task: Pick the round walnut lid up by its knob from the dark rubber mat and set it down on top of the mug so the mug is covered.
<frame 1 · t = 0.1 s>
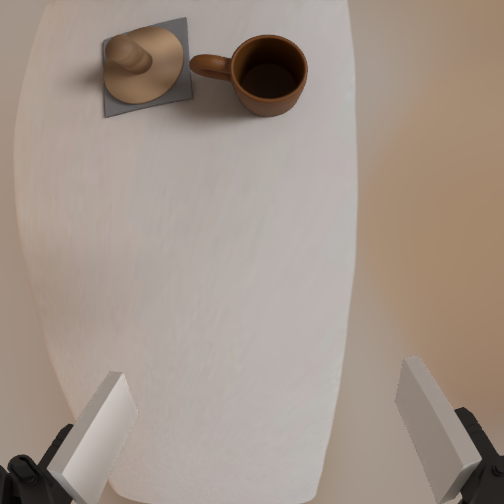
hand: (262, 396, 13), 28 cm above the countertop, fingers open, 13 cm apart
mug: (250, 86, 35), on the countertop
mat: (145, 66, 34), on the countertop
lid: (143, 65, 34), point 1 cm above the countertop, touching mat
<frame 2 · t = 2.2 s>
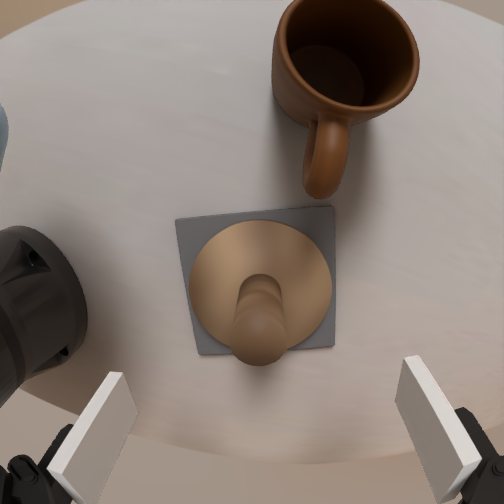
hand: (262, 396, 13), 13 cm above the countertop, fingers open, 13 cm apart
mug: (316, 111, 22), on the countertop
mat: (260, 285, 26), on the countertop
lid: (260, 288, 25), point 1 cm above the countertop, touching mat
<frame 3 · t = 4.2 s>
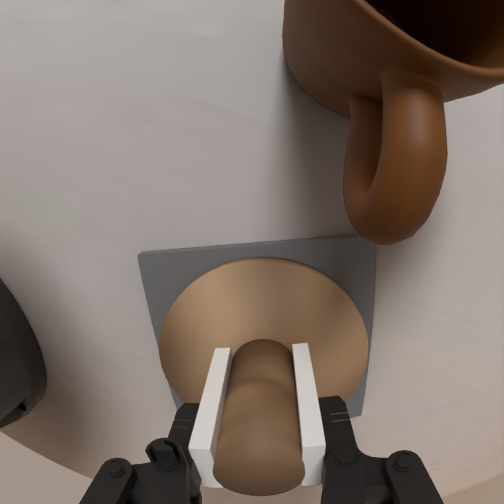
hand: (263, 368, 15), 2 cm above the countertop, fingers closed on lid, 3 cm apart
mug: (349, 91, 14), on the countertop
mat: (264, 346, 17), on the countertop
lid: (263, 354, 17), point 1 cm above the countertop, touching gripper
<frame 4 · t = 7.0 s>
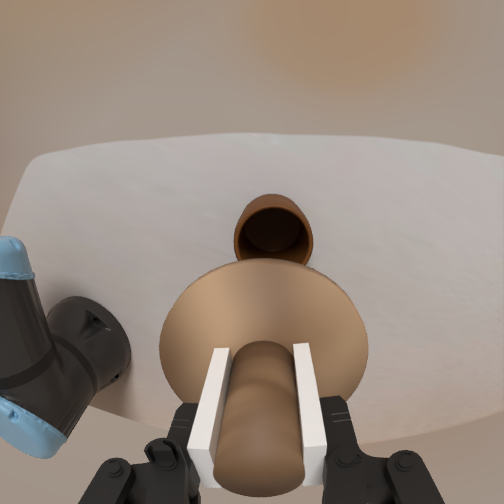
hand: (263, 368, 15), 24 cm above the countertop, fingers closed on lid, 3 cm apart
mug: (268, 241, 39), on the countertop
lid: (263, 355, 17), point 23 cm above the countertop, touching gripper
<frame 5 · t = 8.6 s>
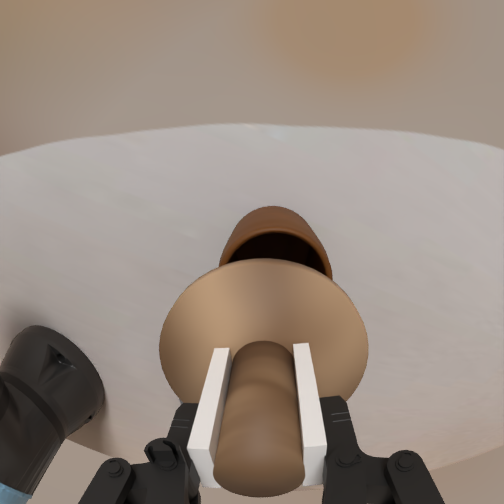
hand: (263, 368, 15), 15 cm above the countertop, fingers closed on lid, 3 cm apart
mug: (267, 268, 30), on the countertop
lid: (263, 355, 17), point 13 cm above the countertop, touching gripper
when the fingers open (12 cm above the countertop, at t = 9.8 s): lid drops 1 cm, resting on mug.
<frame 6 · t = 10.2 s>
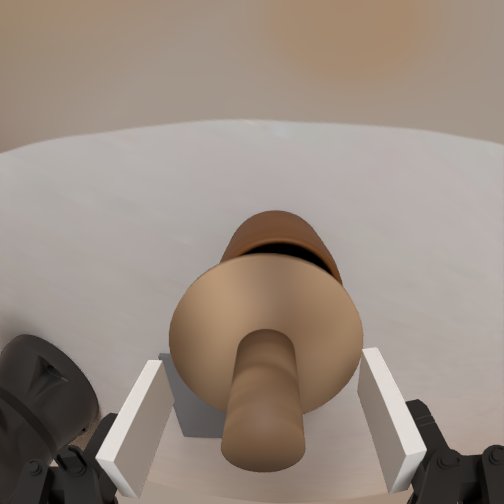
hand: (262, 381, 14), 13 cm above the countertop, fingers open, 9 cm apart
mug: (269, 277, 27), on the countertop, touching lid
mat: (227, 398, 31), on the countertop
lid: (266, 344, 18), point 9 cm above the countertop, touching mug
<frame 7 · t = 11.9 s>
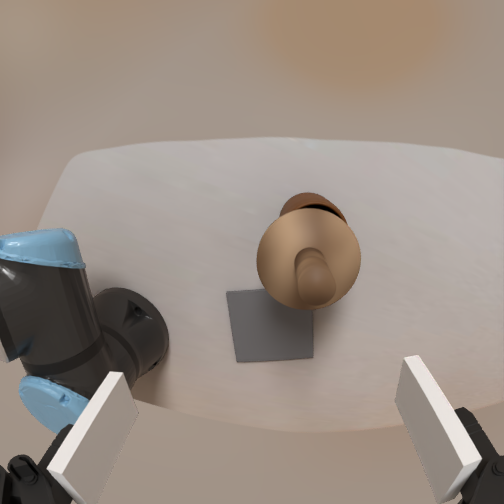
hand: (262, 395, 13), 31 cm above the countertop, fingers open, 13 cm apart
mug: (303, 235, 43), on the countertop, touching lid
mat: (272, 325, 47), on the countertop
lid: (308, 259, 34), point 9 cm above the countertop, touching mug
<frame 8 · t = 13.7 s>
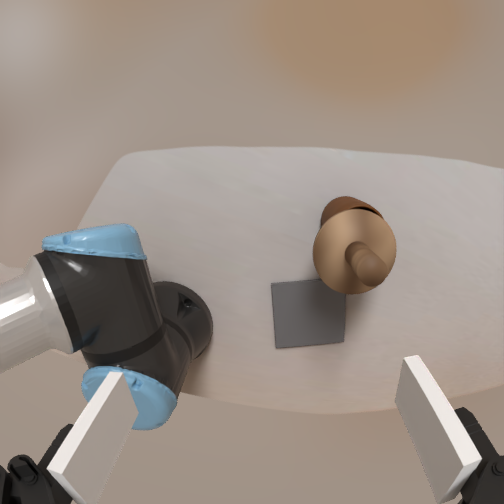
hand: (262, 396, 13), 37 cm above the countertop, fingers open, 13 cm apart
mug: (340, 233, 48), on the countertop, touching lid
mat: (309, 313, 52), on the countertop
lid: (354, 251, 39), point 9 cm above the countertop, touching mug
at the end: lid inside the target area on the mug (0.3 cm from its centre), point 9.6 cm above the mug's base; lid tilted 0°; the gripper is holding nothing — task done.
